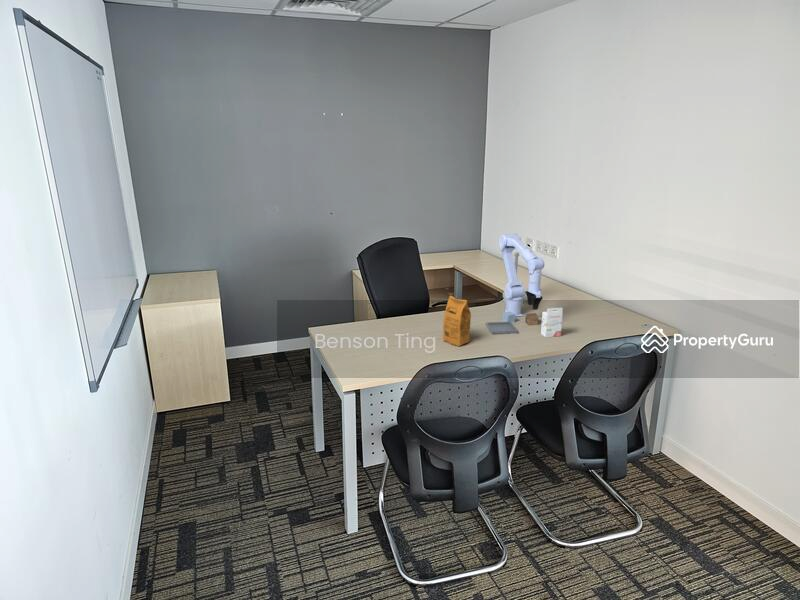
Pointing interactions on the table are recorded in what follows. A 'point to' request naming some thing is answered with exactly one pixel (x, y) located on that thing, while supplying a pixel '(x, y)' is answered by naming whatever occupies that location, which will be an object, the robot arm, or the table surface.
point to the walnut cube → (531, 319)
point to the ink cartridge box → (552, 322)
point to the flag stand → (516, 272)
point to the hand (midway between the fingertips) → (532, 307)
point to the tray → (501, 327)
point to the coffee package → (456, 322)
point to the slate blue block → (509, 317)
